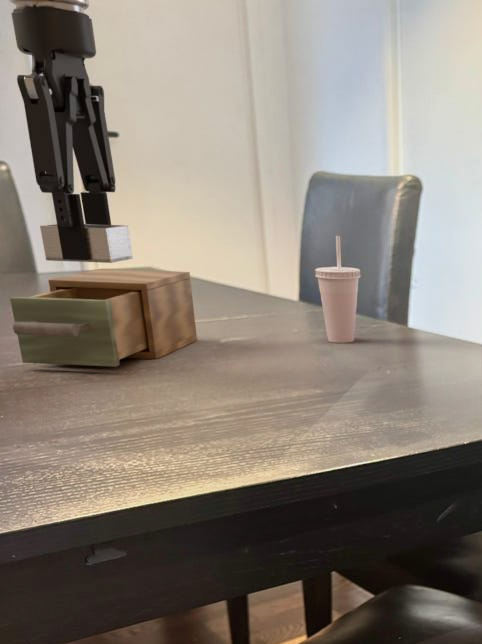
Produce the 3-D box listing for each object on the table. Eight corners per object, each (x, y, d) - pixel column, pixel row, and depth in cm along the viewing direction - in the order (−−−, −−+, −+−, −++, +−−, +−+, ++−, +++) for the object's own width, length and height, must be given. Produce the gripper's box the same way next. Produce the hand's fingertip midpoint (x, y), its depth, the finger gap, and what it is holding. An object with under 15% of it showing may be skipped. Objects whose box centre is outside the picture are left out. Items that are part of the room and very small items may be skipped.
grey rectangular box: (45, 260, 101) (39, 225, 99) (70, 256, 106) (65, 223, 104) (111, 262, 100) (105, 228, 99) (133, 258, 105) (128, 225, 103)
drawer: (99, 374, 103) (87, 306, 100) (2, 369, 104) (-12, 302, 101) (161, 347, 119) (153, 288, 116) (76, 343, 120) (66, 284, 117)
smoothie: (328, 345, 129) (322, 237, 122) (312, 338, 133) (306, 234, 127) (370, 342, 131) (366, 237, 125) (353, 335, 136) (349, 233, 130)
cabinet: (156, 359, 117) (146, 283, 112) (61, 354, 117) (47, 279, 113) (197, 340, 130) (189, 271, 125) (111, 336, 130) (101, 268, 126)
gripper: (37, -6, 84) (81, 266, 94) (127, 23, 100) (156, 252, 111) (-40, -7, 84) (12, 263, 95) (62, 22, 101) (97, 249, 111)
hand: (90, 256), depth 103 cm, fingers closed on grey rectangular box, 5 cm apart
